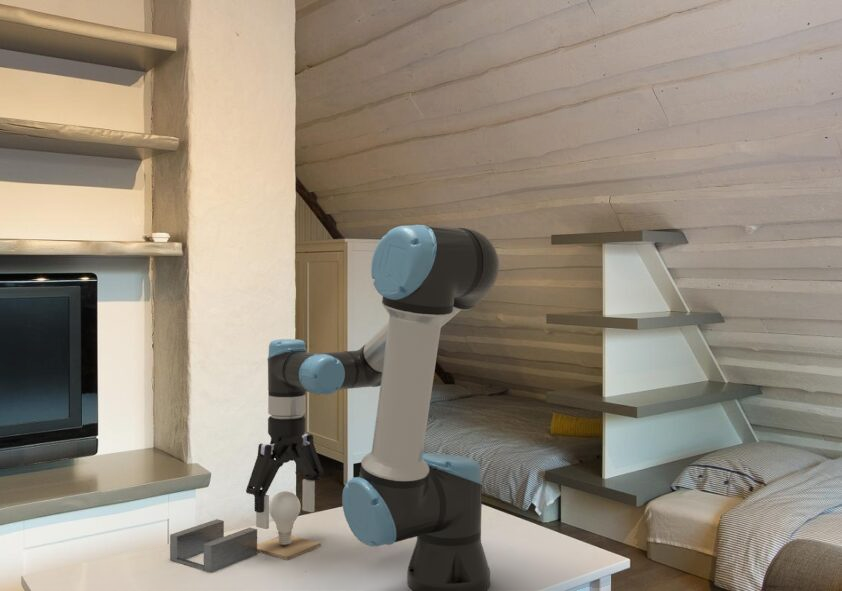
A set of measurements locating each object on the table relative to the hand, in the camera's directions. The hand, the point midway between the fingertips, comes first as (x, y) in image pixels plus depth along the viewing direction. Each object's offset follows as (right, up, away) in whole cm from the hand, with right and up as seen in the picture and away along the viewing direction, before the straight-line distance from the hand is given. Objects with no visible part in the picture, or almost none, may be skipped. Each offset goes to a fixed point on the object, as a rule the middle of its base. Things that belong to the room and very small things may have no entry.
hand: (286, 519), depth 163 cm
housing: (-13, -6, -5) cm, 16 cm away
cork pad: (0, -6, 0) cm, 6 cm away
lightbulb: (0, -6, 0) cm, 6 cm away
